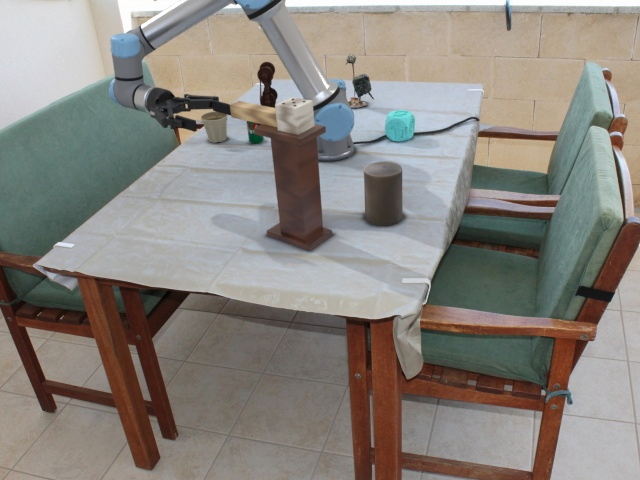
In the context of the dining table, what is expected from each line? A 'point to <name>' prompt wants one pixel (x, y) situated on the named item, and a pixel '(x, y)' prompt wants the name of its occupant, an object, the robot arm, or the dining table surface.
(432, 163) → the dining table surface
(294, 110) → the die stick
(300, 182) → the plant stand
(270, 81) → the dark brown sculpture
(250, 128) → the soda can
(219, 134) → the flower pot
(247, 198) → the dining table surface
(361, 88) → the plant with pod
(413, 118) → the decorative dice
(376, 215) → the pillar candle
